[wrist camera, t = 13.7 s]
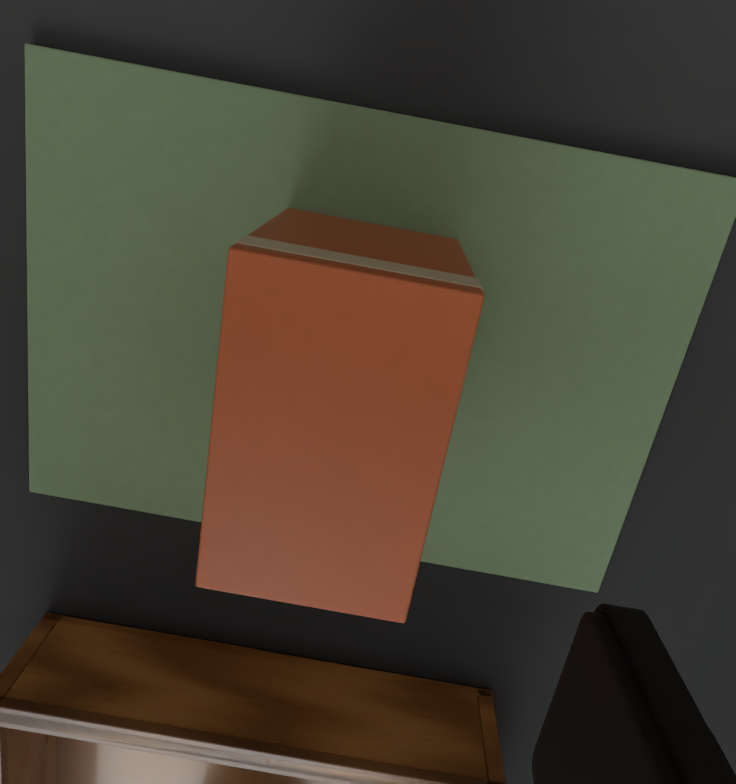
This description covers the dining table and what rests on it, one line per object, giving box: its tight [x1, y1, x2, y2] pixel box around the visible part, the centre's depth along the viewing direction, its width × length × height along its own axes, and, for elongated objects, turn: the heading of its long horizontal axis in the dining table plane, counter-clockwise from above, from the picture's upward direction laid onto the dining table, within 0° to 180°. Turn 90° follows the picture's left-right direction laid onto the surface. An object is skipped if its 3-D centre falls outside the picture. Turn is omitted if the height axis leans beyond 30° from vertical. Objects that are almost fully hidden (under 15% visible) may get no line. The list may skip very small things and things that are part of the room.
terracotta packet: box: [195, 208, 485, 623], centre depth 18 cm, size 5×8×7 cm, turn 170°
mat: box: [25, 43, 736, 593], centre depth 21 cm, size 20×14×1 cm
